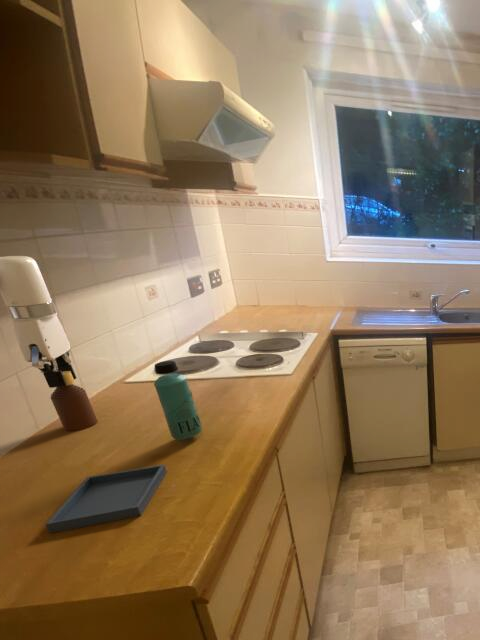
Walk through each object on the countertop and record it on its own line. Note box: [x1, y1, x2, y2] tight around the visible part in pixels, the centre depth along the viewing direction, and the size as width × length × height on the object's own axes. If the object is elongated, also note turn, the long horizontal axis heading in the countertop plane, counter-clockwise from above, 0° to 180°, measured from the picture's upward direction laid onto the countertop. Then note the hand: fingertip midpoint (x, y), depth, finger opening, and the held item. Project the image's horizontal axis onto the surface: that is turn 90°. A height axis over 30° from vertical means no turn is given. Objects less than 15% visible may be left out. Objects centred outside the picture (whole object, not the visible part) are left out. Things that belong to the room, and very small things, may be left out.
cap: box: [61, 371, 75, 386], centre depth 108 cm, size 4×4×3 cm
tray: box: [45, 464, 168, 534], centre depth 85 cm, size 13×15×2 cm
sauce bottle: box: [50, 383, 99, 432], centre depth 110 cm, size 6×6×14 cm
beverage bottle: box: [153, 360, 203, 440], centre depth 103 cm, size 6×7×20 cm
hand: (63, 382), depth 108 cm, fingers closed on cap, 4 cm apart
